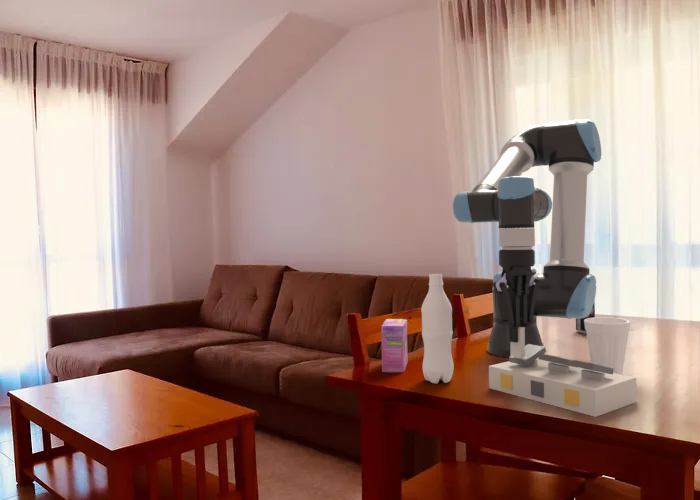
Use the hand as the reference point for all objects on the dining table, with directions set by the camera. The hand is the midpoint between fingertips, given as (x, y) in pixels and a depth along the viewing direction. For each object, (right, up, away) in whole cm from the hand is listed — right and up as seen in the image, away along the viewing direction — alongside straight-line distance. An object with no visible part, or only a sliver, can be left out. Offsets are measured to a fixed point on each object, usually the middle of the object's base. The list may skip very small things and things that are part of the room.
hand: (517, 356), depth 132 cm
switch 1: (+3, 0, +2) cm, 3 cm away
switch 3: (+12, 0, -11) cm, 16 cm away
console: (+8, -7, -4) cm, 11 cm away
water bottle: (-16, -8, +10) cm, 20 cm away
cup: (+24, -6, +9) cm, 26 cm away
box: (-25, -7, +24) cm, 35 cm away
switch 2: (+7, 0, -5) cm, 9 cm away
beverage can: (+39, -4, +63) cm, 75 cm away
